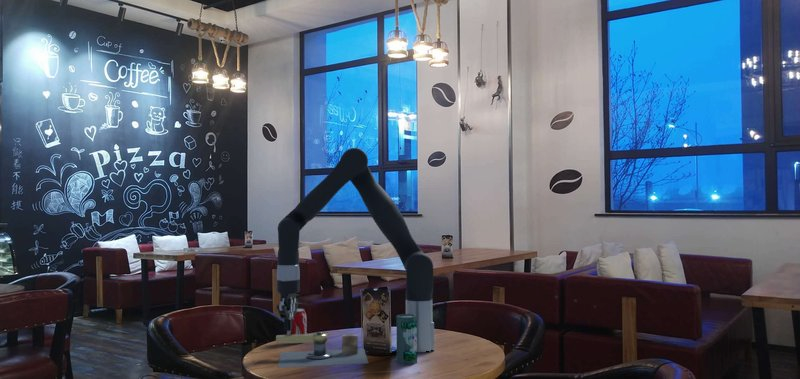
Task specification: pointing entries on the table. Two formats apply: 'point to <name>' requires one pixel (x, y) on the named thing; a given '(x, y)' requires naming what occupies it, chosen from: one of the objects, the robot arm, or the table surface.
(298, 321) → the soda can
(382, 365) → the table surface
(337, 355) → the mat
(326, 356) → the post
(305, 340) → the swing bar
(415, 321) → the can
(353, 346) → the keeper
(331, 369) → the table surface
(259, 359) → the table surface
